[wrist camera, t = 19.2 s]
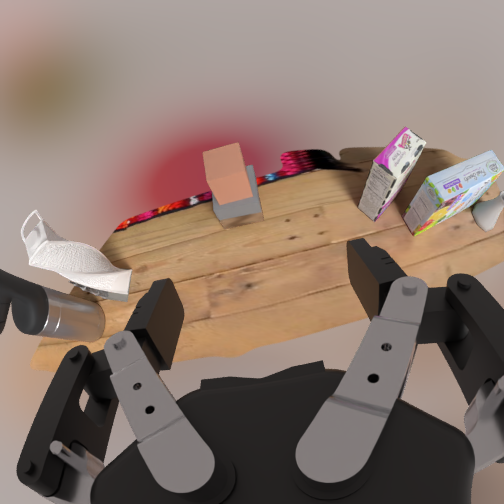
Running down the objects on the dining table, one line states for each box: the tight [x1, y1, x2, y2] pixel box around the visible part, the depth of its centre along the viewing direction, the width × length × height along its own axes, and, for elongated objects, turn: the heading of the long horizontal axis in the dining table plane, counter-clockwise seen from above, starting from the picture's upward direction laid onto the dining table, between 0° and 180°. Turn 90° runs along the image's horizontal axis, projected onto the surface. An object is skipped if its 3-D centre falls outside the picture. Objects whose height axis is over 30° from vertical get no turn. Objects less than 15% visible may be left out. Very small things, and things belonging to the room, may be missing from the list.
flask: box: [472, 191, 504, 232], centre depth 44 cm, size 7×7×10 cm
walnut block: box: [220, 193, 264, 229], centre depth 56 cm, size 8×8×4 cm
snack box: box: [402, 150, 504, 236], centre depth 44 cm, size 21×6×15 cm, turn 112°
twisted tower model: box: [21, 210, 132, 302], centre depth 44 cm, size 8×8×28 cm
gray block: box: [212, 165, 262, 220], centre depth 52 cm, size 8×8×4 cm
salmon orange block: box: [203, 143, 253, 205], centre depth 47 cm, size 6×6×8 cm
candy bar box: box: [358, 127, 426, 222], centre depth 46 cm, size 11×5×16 cm, turn 134°
